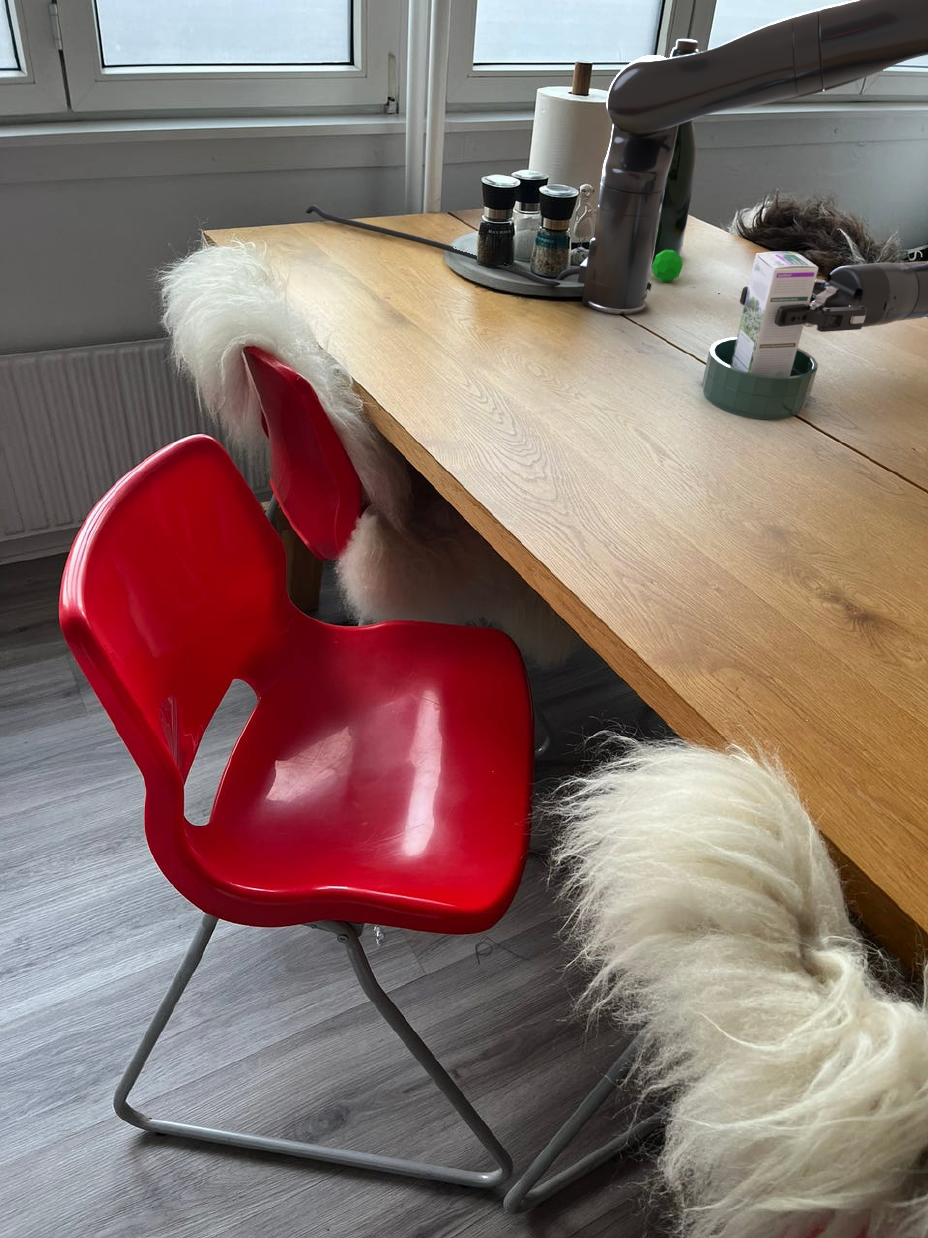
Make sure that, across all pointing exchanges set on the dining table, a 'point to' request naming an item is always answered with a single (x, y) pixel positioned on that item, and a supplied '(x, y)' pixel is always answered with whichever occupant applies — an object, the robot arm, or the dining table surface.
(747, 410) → the crock
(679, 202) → the beer bottle
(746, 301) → the syrup box
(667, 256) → the polyhedron
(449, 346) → the dining table surface
